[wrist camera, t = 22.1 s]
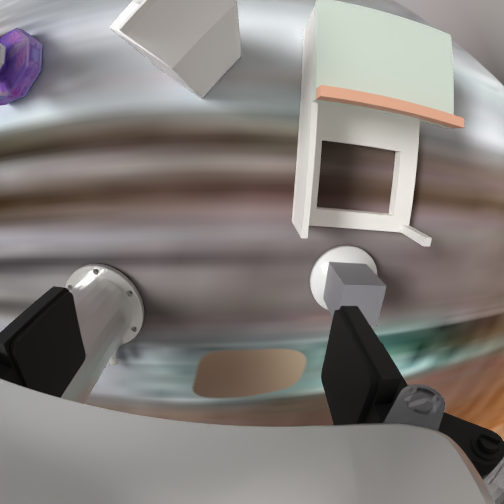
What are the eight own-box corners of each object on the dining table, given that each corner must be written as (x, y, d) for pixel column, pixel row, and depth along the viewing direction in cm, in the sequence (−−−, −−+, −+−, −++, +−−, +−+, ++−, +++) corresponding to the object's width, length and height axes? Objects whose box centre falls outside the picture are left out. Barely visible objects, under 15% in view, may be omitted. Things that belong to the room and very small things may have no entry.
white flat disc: (367, 308, 42) (370, 312, 41) (305, 308, 42) (306, 311, 41) (380, 246, 39) (382, 249, 38) (313, 243, 39) (315, 245, 38)
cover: (445, 128, 27) (464, 127, 24) (312, 101, 27) (320, 95, 24) (444, 38, 24) (460, 30, 21) (315, 3, 23) (322, -12, 20)
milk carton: (242, 55, 32) (236, -23, 14) (202, 99, 34) (157, 53, 15) (196, 25, 30) (157, -60, 12) (158, 67, 32) (85, 10, 14)
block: (358, 299, 40) (376, 325, 34) (322, 298, 40) (335, 326, 34) (365, 263, 39) (386, 285, 32) (328, 261, 39) (344, 284, 32)
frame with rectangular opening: (402, 230, 38) (429, 246, 32) (291, 221, 38) (301, 237, 31) (414, 54, 31) (443, 40, 24) (303, 30, 31) (314, 6, 24)
